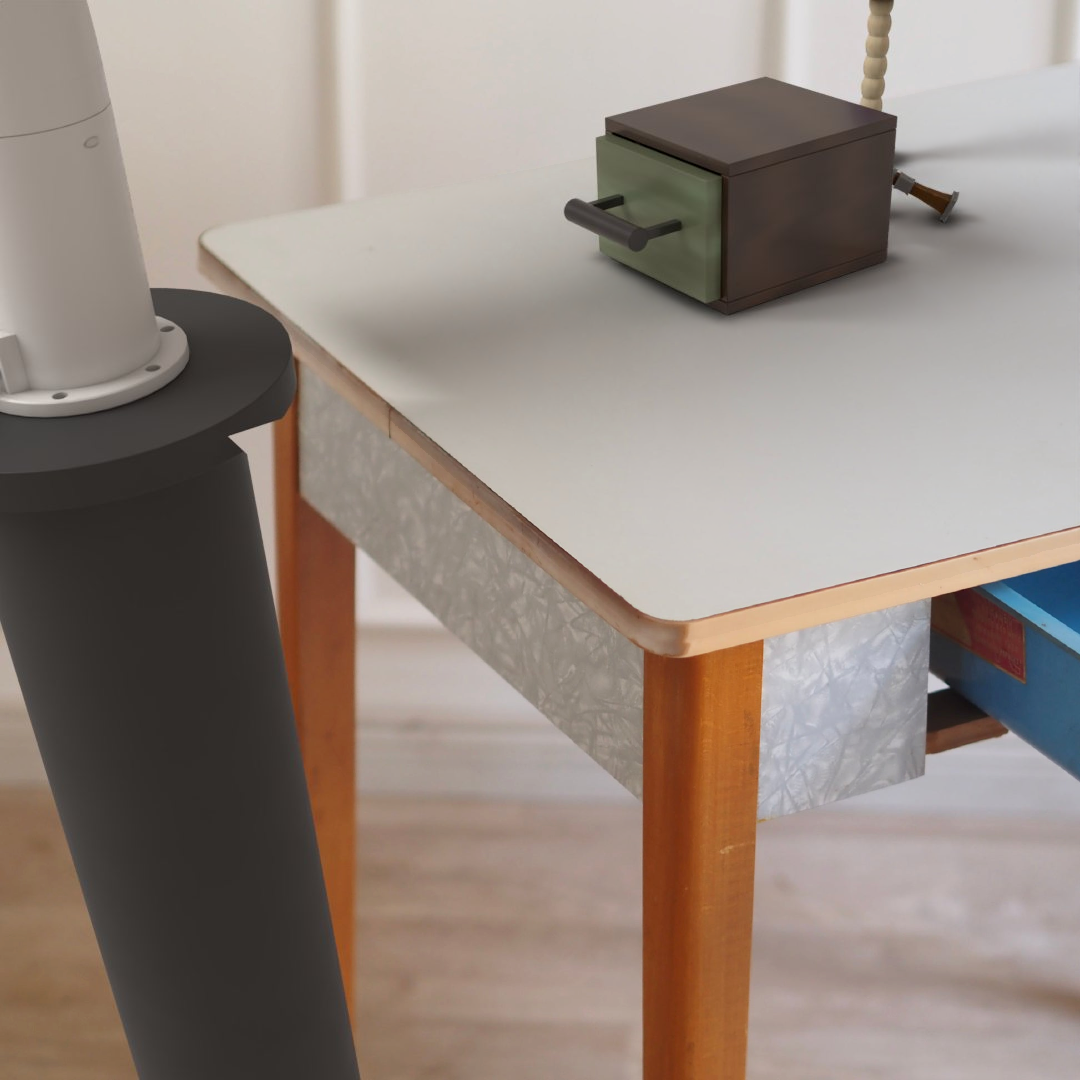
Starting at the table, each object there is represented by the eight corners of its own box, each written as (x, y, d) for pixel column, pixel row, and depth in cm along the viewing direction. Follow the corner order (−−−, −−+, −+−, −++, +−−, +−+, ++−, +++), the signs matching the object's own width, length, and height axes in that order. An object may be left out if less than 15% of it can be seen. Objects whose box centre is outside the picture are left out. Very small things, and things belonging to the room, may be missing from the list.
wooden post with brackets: (828, 194, 107) (857, 138, 105) (928, 244, 107) (961, 189, 104) (824, 202, 106) (854, 146, 103) (926, 253, 106) (958, 198, 103)
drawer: (652, 322, 91) (650, 197, 86) (547, 267, 99) (541, 151, 95) (856, 253, 98) (863, 135, 94) (743, 207, 106) (745, 97, 102)
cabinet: (727, 315, 93) (729, 164, 88) (608, 257, 102) (604, 117, 97) (887, 260, 99) (897, 115, 94) (762, 210, 108) (765, 76, 103)
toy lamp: (893, 149, 118) (910, -77, 109) (908, 168, 114) (927, -64, 105) (832, 153, 118) (844, -72, 109) (846, 172, 114) (859, -60, 105)
